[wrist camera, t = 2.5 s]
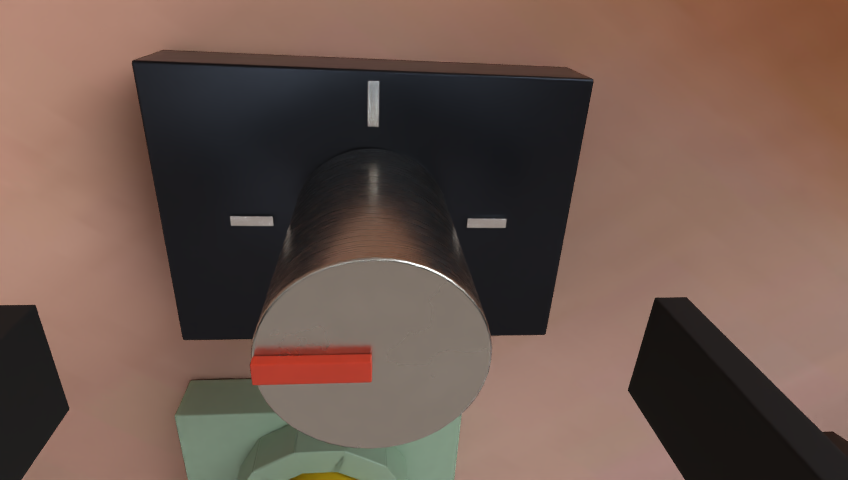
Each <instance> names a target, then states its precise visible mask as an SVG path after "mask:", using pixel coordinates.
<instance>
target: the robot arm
mask: <svg viewBox="0 0 848 480" xmlns="http://www.w3.org/2000/svg"><path fill="white" fill-rule="evenodd" d="M628 391H629V393H630V394H631V396H632V398H633V399H634V401H635V402H636V404H637V405H638V407H639V409H640V410H641V412H642V413H643V415H644V416H645V418H646V419H647V421H648V423H649V424H650V426H651V427H652V429H653V430H654V432H655V434H656V435H657V437H658V438H659V440H660V441H661V443H662V445H663V446H664V448H665V449H666V451H667V452H668V454H669V455H670V457H671V459H672V460H673V462H674V463H675V465H676V466H677V468H678V470H679V471H680V473H681V474H682V476H683V477H684V479H685V480H848V441H846V440H845V439H843V438H842V437H840V436H839V435H837V434H836V433H834V432H822V431H821V430H820V429H819V428H818V427H817V426H816V425H815V424H814V423H813V422H811V421H810V420H809V419H808V418H807V417H806V416H805V415H804V414H803V413H802V412H801V411H800V410H799V409H798V408H797V407H796V406H795V405H794V404H793V403H792V402H791V401H790V400H789V399H788V398H787V397H786V396H785V395H784V394H783V393H782V392H781V391H780V390H779V389H778V388H777V387H776V386H775V385H774V384H773V383H772V382H771V381H770V380H769V379H768V378H767V377H766V376H765V375H764V374H763V373H762V372H761V371H760V370H759V369H758V368H757V367H756V366H755V365H754V364H753V363H752V362H751V361H750V360H749V359H748V358H747V357H746V356H745V355H744V354H743V353H742V352H741V351H740V350H739V349H738V348H737V347H736V346H735V345H734V344H733V343H732V342H731V341H730V340H729V339H728V338H727V337H726V336H725V335H724V334H723V333H722V332H721V331H720V330H719V329H718V328H717V327H716V326H715V325H714V324H713V323H712V322H711V321H710V320H709V319H708V318H707V317H706V316H705V315H704V314H703V313H702V312H701V311H700V310H699V309H698V308H697V307H696V306H695V305H694V304H693V303H692V302H691V301H690V300H689V299H688V298H687V297H675V298H655V300H654V303H653V306H652V310H651V313H650V317H649V320H648V323H647V327H646V330H645V334H644V337H643V340H642V344H641V347H640V351H639V354H638V358H637V361H636V364H635V368H634V371H633V375H632V378H631V381H630V385H629V388H628ZM68 410H69V406H68V403H67V400H66V397H65V394H64V391H63V388H62V385H61V382H60V379H59V375H58V372H57V369H56V366H55V363H54V360H53V357H52V354H51V351H50V348H49V345H48V342H47V339H46V336H45V333H44V330H43V327H42V324H41V321H40V318H39V315H38V311H37V308H36V305H0V480H21V479H22V478H23V476H24V475H25V474H26V472H27V471H28V469H29V468H30V466H31V465H32V463H33V462H34V460H35V459H36V457H37V456H38V454H39V453H40V451H41V450H42V449H43V447H44V446H45V444H46V443H47V441H48V440H49V438H50V437H51V435H52V434H53V432H54V431H55V429H56V428H57V427H58V425H59V424H60V422H61V421H62V419H63V418H64V416H65V415H66V413H67V412H68Z"/></svg>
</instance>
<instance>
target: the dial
mask: <svg viewBox="0 0 848 480" xmlns="http://www.w3.org/2000/svg"><path fill="white" fill-rule="evenodd" d="M491 356H492V342H491V334H490V330H489V327H488V323H487V320H486V317H485V314H484V311H483V308H482V306H481V303H480V300H479V297H478V294H477V291H476V288H475V285H474V282H473V280H472V277H471V274H470V271H469V268H468V265H467V262H466V259H465V256H464V254H463V251H462V248H461V245H460V242H459V239H458V236H457V233H456V230H455V228H454V225H453V222H452V219H451V216H450V213H449V210H448V207H447V204H446V202H445V199H444V196H443V194H442V191H441V189H440V187H439V185H438V184H437V182H436V181H435V179H434V178H433V177H432V176H431V174H430V173H429V172H428V171H427V170H426V169H425V168H424V167H422V166H421V165H420V164H419V163H417V162H416V161H414V160H413V159H411V158H409V157H407V156H405V155H403V154H400V153H397V152H394V151H390V150H385V149H376V148H365V149H357V150H351V151H348V152H345V153H342V154H339V155H337V156H335V157H333V158H331V159H329V160H328V161H326V162H325V163H323V164H322V165H321V166H319V167H318V168H317V169H316V170H315V171H314V172H313V173H312V174H311V175H310V176H309V178H308V179H307V181H306V182H305V184H304V185H303V187H302V189H301V191H300V193H299V196H298V199H297V202H296V205H295V209H294V212H293V215H292V218H291V221H290V224H289V227H288V230H287V233H286V237H285V240H284V243H283V246H282V249H281V252H280V255H279V258H278V261H277V265H276V268H275V271H274V274H273V277H272V280H271V283H270V286H269V289H268V293H267V296H266V299H265V302H264V305H263V308H262V311H261V314H260V317H259V321H258V324H257V327H256V330H255V333H254V336H253V341H252V348H251V363H250V371H251V379H252V385H258V388H259V390H260V392H261V394H262V396H263V397H264V399H265V401H266V402H267V403H268V405H269V406H270V407H271V408H272V410H273V411H274V412H275V413H276V414H277V415H278V416H279V417H280V418H281V419H282V420H284V421H285V422H286V423H288V424H289V425H290V426H292V427H293V428H295V429H296V430H298V431H300V432H302V433H303V434H305V435H308V436H310V437H312V438H314V439H317V440H320V441H323V442H326V443H329V444H333V445H338V446H343V447H350V448H368V449H374V448H386V447H392V446H398V445H402V444H406V443H410V442H413V441H416V440H419V439H421V438H424V437H427V436H429V435H431V434H433V433H435V432H437V431H439V430H440V429H442V428H444V427H445V426H447V425H448V424H450V423H451V422H452V421H454V420H455V419H456V418H457V417H459V416H460V415H461V414H462V413H463V412H464V411H465V410H466V409H467V408H468V407H469V406H470V405H471V403H472V402H473V401H474V399H475V398H476V397H477V395H478V394H479V392H480V390H481V388H482V386H483V385H484V382H485V380H486V377H487V374H488V372H489V367H490V363H491Z"/></svg>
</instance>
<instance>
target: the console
mask: <svg viewBox="0 0 848 480" xmlns="http://www.w3.org/2000/svg"><path fill="white" fill-rule="evenodd" d="M132 66H133V72H134V77H135V82H136V88H137V93H138V99H139V104H140V109H141V115H142V120H143V126H144V131H145V137H146V142H147V147H148V153H149V158H150V164H151V169H152V174H153V180H154V185H155V191H156V196H157V202H158V207H159V212H160V218H161V223H162V229H163V234H164V240H165V245H166V250H167V256H168V261H169V267H170V272H171V277H172V283H173V288H174V294H175V299H176V305H177V310H178V315H179V321H180V326H181V332H182V337H183V340H223V339H253V336H254V333H255V330H256V327H257V324H258V321H259V317H260V314H261V311H262V308H263V305H264V302H265V299H266V296H267V293H268V289H269V286H270V283H271V280H272V277H273V274H274V271H275V268H276V265H277V261H278V258H279V255H280V252H281V249H282V246H283V243H284V240H285V237H286V233H287V230H288V227H289V224H290V221H291V218H292V215H293V212H294V209H295V205H296V202H297V199H298V196H299V193H300V191H301V189H302V187H303V185H304V184H305V182H306V181H307V179H308V178H309V176H310V175H311V174H312V173H313V172H314V171H315V170H316V169H317V168H318V167H319V166H321V165H322V164H323V163H325V162H326V161H328V160H329V159H331V158H333V157H335V156H337V155H339V154H342V153H345V152H348V151H351V150H357V149H365V148H376V149H385V150H390V151H394V152H397V153H400V154H403V155H405V156H407V157H409V158H411V159H413V160H414V161H416V162H417V163H419V164H420V165H421V166H422V167H424V168H425V169H426V170H427V171H428V172H429V173H430V174H431V176H432V177H433V178H434V179H435V181H436V182H437V184H438V185H439V187H440V189H441V191H442V194H443V196H444V199H445V202H446V204H447V207H448V210H449V213H450V216H451V219H452V222H453V225H454V228H455V230H456V233H457V236H458V239H459V242H460V245H461V248H462V251H463V254H464V256H465V259H466V262H467V265H468V268H469V271H470V274H471V277H472V280H473V282H474V285H475V288H476V291H477V294H478V297H479V300H480V303H481V306H482V308H483V311H484V314H485V317H486V320H487V323H488V327H489V330H490V334H491V336H497V335H545V334H546V329H547V324H548V318H549V313H550V308H551V303H552V297H553V292H554V287H555V282H556V276H557V271H558V266H559V260H560V255H561V250H562V245H563V239H564V234H565V229H566V224H567V218H568V213H569V208H570V203H571V197H572V192H573V187H574V182H575V176H576V171H577V166H578V160H579V155H580V150H581V145H582V139H583V134H584V129H585V124H586V118H587V113H588V108H589V103H590V97H591V92H592V87H593V79H592V78H590V77H587V76H585V75H583V74H581V73H578V72H576V71H574V70H572V69H569V68H567V67H547V66H523V65H500V64H476V63H453V62H429V61H406V60H382V59H359V58H335V57H312V56H288V55H265V54H241V53H218V52H195V51H171V50H162V51H159V52H156V53H153V54H150V55H147V56H144V57H141V58H138V59H136V60H133V61H132Z"/></svg>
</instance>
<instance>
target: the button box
mask: <svg viewBox="0 0 848 480" xmlns="http://www.w3.org/2000/svg"><path fill="white" fill-rule="evenodd" d="M461 415H462V414H461ZM461 415H460V416H459V417H457V418H456V419H455V420H454V421H452V422H451V423H450V424H448V425H447V426H445V427H444V428H442V429H440V430H439V431H437V432H435V433H433V434H431V435H429V436H427V437H424V438H421V439H419V440H416V441H413V442H410V443H406V444H402V445H398V446H392V447H386V448H374V449H368V448H350V447H343V446H338V445H333V444H329V443H326V442H323V441H320V440H317V439H314V438H312V437H310V436H308V435H305V434H303V433H302V432H300V431H298V430H296V429H295V428H293V427H292V426H290V425H289V424H288V423H286V422H285V421H284V420H282V419H281V418H280V417H279V416H278V415H277V414H276V413H275V412H274V411H273V410H272V408H271V407H270V406H269V405H268V403H267V402H266V401H265V399H264V397H263V396H262V394H261V392H260V390H259V388H258V385H252V379H228V380H191V381H190V383H189V385H188V387H187V389H186V392H185V394H184V396H183V398H182V401H181V403H180V405H179V407H178V410H177V412H176V414H175V420H176V425H177V430H178V435H179V439H180V444H181V449H182V454H183V459H184V463H185V468H186V473H187V478H188V480H289V479H291V478H294V477H296V476H298V475H300V474H303V473H326V472H338V473H341V474H344V475H347V476H350V477H353V478H355V479H358V480H454V477H455V468H456V459H457V450H458V441H459V433H460V424H461Z"/></svg>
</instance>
